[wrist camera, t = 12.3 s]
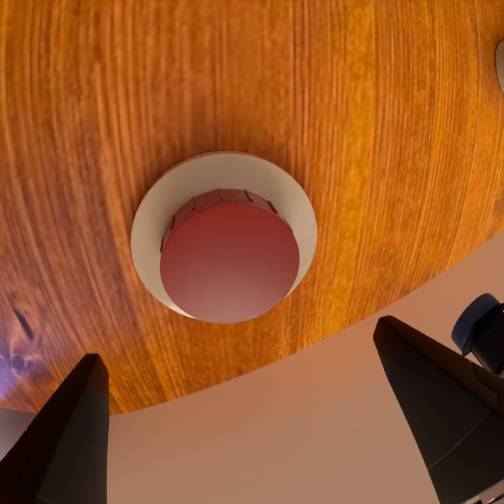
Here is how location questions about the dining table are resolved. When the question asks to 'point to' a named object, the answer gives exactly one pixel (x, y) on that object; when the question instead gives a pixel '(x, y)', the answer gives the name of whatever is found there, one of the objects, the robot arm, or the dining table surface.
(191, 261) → the jar lid
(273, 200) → the coaster
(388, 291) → the dining table surface
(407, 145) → the dining table surface
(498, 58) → the jam jar
